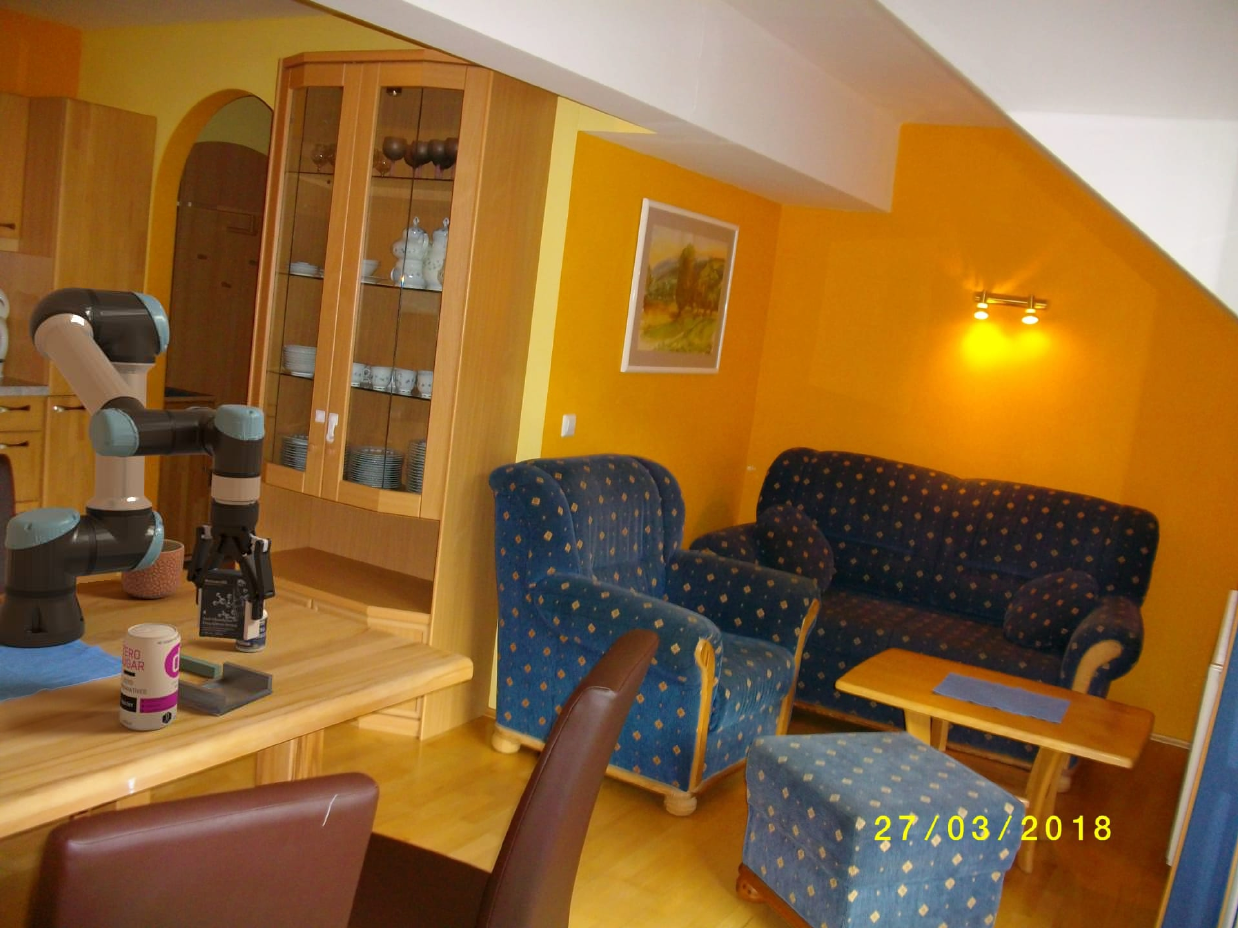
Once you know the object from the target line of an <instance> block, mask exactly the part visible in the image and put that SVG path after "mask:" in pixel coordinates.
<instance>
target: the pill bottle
mask: <svg viewBox="0 0 1238 928" xmlns="http://www.w3.org/2000/svg"><path fill="white" fill-rule="evenodd" d="M265 602H266V601H265V600H264V605H265V604H266V603H265ZM267 627H268V612H267V610H266V609H265V608H263V617H262V619H260V624H259V636H257V637H254V638H252V639H249V640H247V641H245V640H238V639H235V649H236V650H237V651H240V652H243V653H258V652H261V651H263V650H264V649H265V648H266V642H267V639H266V638H267Z"/></svg>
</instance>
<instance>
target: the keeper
mask: <svg viewBox="0 0 1238 928" xmlns="http://www.w3.org/2000/svg"><path fill="white" fill-rule="evenodd" d="M222 663H223V664H222V672H221V673H222V675H220V676H219V677H216V678H211V679H209V680H206V681H203V682H201V683H198V684H196V683H193V682H192V683H191V682H189V681H186V680H182V679H178V695H177V705H181V706H183V707H187V708H190V709H194V710H197V711H199V712H202V713H205V714H209V715H212V716H215V717H221V716H223V715H225V714H227V713H230V712H233V711H234V710H237V709H240V708H241V707H244V706H246V705H248V704H251V703H253V702H255V701H257V700H261V699H263V698H265V697H267V696H270V695H271V694H273V693H274V690H273V689H272V688H273V677H274V676H273V674H271V673H267V672H264V671H260V670H257V669H255V668H250V667H247V666H245V665H244V666H243V665H240V664H236V663H233V662H231V661H230V662H229V661H225V662H222Z"/></svg>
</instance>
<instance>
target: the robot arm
mask: <svg viewBox="0 0 1238 928" xmlns="http://www.w3.org/2000/svg"><path fill="white" fill-rule="evenodd" d="M27 326H28V327H27V328H28V329H27V330H28V335H29V338H30V340H31V343H32V345H33V347H34V348H35V349H36V351H37V352H38V354H40V356H42V357H43V358H45V359H46V360H48V361H50V362H53V364H54V365H55V368H57V370H58V371H59V373H60V374H61V375H62V377H63V378H64V379H65V381H66V382H67V384H68V386H69V387H70V388H71V389H72V391H73V392H74V394H75V396H76V397H77V398H78V400H79V401H80V402H81V404H82V406H83V407H84V408H85V409H86V411H87V412H88V414H89V415H90V417H91V418H90V419H89V424H88V436H89V440H90V443H91V444H90V445H91V447H92V450H93V451H94V452H95V464H94V465H95V469H94V470H95V473H94V474H95V475H94V494H93V496H92V497H91V498H90V499H88V501H87V502H86V503H85V514H79V511H78V510H77V509H75V508H73V507H68V506H58V507H54V506H50V507H41V508H40V507H39V508H33V509H30V510H26V511H23V512H21V513H18V514H17V515H15V516H13V517H11V518H10V520H9V521H8V522H7V526H6V535H5V540H4V546H5V557H4V558H5V562H4V563H5V565H4V595H3V599H2V600H1V604H0V644H2V645H6V646H10V647H11V646H12V647H19V648H41V647H44V648H45V647H53V646H58V645H63V644H67V643H70V642H74V641H76V640H78V639H80V638H82V637H83V636H84V635H85V633H86V632H85V630H86V620H85V617H84V615H83V612H82V608H81V605H80V603H79V599H78V596H77V578H81V577H89V576H97V575H108V574H115V573H116V574H117V573H121V572H125V573H128V572H131V571H134V570H140V569H145V568H148V567H150V566H151V565H152V564H153V563H154V562H155V561H156V560H157V558H158V557H159V555H160V552H161V549H162V546H163V540H164V539H165V538H164V537H165V529H164V525H163V518H162V517H161V514H159V512H157V511H156V510H153V503H152V502H151V501H150V500H149V499H148V498H147V497H146V495H145V467H146V466H145V464H146V463H145V460H146V458H145V457H150V456H151V457H152V456H153V457H154V456H184V455H185V456H187V455H188V456H190V455H206V456H209V457H211V458H212V477H211V478H212V479H211V488H210V489H211V491H210V497H211V498H213V500H211V501H210V510H209V521H210V522H211V524H212V525H211V524H206V525H205V524H204V525H201V526H200V525H199V526H197V527H196V528H195V543H194V546H193V550H192V554H191V559H190V562H189V566H188V570H187V573H186V581H188V582H189V583H190V582H192V583H193V584H194V586H195V588H196V589H195V605H196V606H197V620H196V626H197V627H198V628H199V627H200V610H201V594H202V580H203V576H204V575H205V574H206V573H207V572H208V571H209V570H212V569H216V568H218V569H220V566H221V564H222V562H223V560H224V558H225V557H226V555H229V556H230V557H232V558H234V560H235V563H236V564H238V565H239V569H240V570H241V572H242V575H243V578H244V581H245V584H246V587H247V590H248V593H249V596H250V599H249V600H247V601H246V608H245V625H244V639H245V640H249V639H252V638H254V637H257V636H259V624H260V619H262V617H263V609H265V604H264V600H269V599H272V598H274V597H275V596H276V588H275V581H274V574H273V567H272V559H271V547H272V539H271V538H269V537H266V538H261V537H259V536H257V535H258V534H257V533H256V532H257V531H256V526H257V524H258V522H259V515H260V514H259V513H260V503H259V501H257V500H258V499H260V495H261V478H262V477H261V476H262V473H261V472H262V467H263V453H264V452H263V451H264V441H265V440H264V439H265V432H266V430H265V427H264V425H265V413H264V411H263V410H262V409H261V408H259V407H257V406H253V405H245V404H222V405H219V406H217V407H216V409H213V408H211V407H207V406H204V407H203V406H190V407H188V408H185V409H167V408H165V409H162V408H161V409H152V408H151V409H148V408H147V381H148V379H147V378H148V373H149V371H150V370H152V369H153V368H154V366H156V365H157V364H156V363H157V362H156V360H157V356H158V357H159V356H160V355H163V354H164V353H165V352H166V351H167V349H168V345H169V342H170V325H169V320H168V317H167V314H166V310H165V309H164V307H163V306H162V304H161V302H160V301H159V300H158V299H157V298H156V297H154V296H153V295H151V294H147V293H141V292H140V293H139V292H135V291H131V290H129V291H125V290H124V291H123V290H111V289H97V288H85V287H84V288H83V287H81V286H80V287H79V286H78V287H76V286H70V287H69V286H68V287H62V288H59V289H55V290H53V291H51V292H49V293H47V294H45V296H43V297H42V298H40V299H39V301H37V303H36V304H34V307H33V308H32V310H31V312H30V315H29V317H28V323H27Z"/></svg>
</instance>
